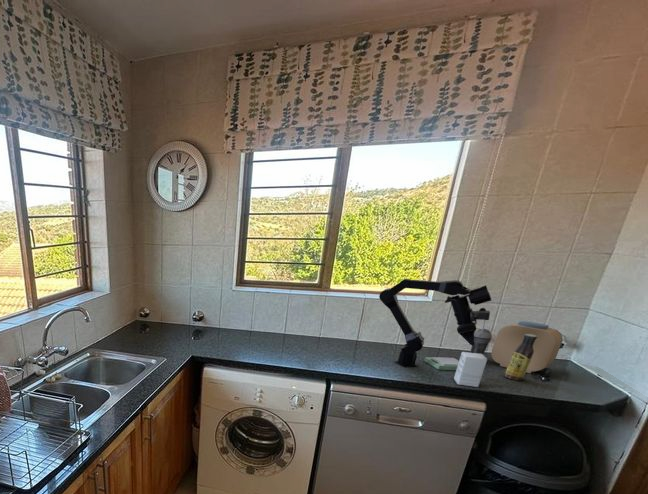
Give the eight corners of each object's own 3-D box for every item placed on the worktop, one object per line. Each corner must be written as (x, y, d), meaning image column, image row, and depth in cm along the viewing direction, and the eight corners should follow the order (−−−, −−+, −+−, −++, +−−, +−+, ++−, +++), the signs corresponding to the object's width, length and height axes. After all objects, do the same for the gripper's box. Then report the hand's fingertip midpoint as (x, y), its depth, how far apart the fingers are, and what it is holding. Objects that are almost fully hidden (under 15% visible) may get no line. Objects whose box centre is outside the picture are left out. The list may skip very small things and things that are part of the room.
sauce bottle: (500, 375, 179) (515, 332, 172) (513, 375, 180) (529, 332, 173) (513, 381, 173) (530, 337, 166) (527, 380, 174) (544, 336, 167)
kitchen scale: (438, 369, 186) (439, 364, 185) (424, 361, 197) (425, 356, 196) (468, 370, 185) (469, 365, 184) (452, 362, 196) (453, 357, 195)
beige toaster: (550, 373, 183) (568, 326, 175) (542, 377, 178) (561, 329, 170) (495, 360, 199) (510, 317, 191) (487, 363, 194) (502, 319, 187)
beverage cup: (487, 362, 196) (500, 322, 189) (470, 361, 197) (483, 321, 190) (479, 357, 203) (491, 318, 195) (462, 356, 204) (474, 318, 197)
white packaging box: (473, 381, 173) (482, 353, 168) (478, 387, 166) (488, 358, 162) (453, 378, 176) (461, 351, 171) (457, 384, 169) (465, 356, 165)
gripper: (485, 305, 161) (497, 342, 162) (485, 299, 175) (496, 332, 176) (451, 315, 169) (463, 349, 170) (454, 307, 182) (464, 339, 183)
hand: (472, 342), depth 174 cm, fingers open, 9 cm apart
